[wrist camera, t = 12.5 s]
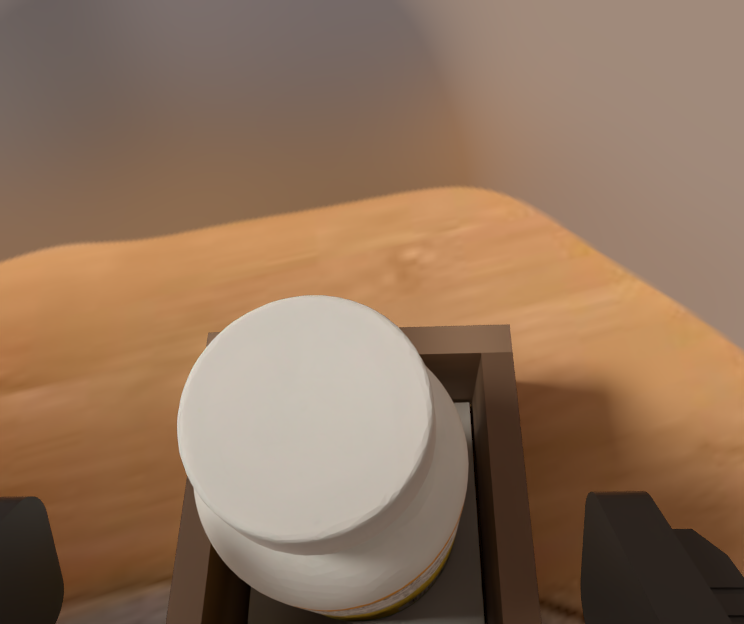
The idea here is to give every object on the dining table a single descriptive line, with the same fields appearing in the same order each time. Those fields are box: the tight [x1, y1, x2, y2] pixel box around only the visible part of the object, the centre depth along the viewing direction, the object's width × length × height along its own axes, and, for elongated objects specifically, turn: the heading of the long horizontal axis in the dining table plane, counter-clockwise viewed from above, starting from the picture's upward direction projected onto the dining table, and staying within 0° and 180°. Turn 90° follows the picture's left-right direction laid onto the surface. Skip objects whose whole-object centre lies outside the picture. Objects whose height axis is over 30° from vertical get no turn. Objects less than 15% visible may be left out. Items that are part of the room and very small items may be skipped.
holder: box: [166, 325, 541, 624], centre depth 16 cm, size 8×8×4 cm
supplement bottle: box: [177, 295, 469, 622], centre depth 14 cm, size 5×5×10 cm
